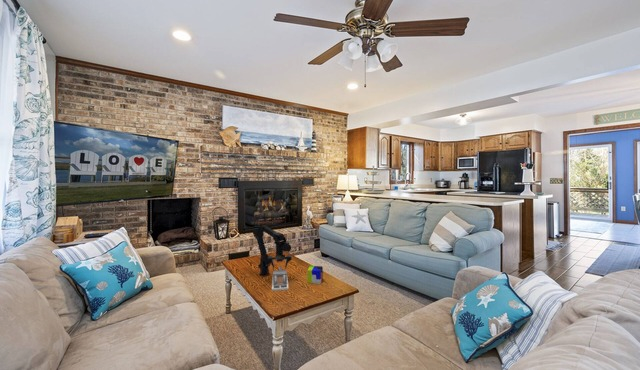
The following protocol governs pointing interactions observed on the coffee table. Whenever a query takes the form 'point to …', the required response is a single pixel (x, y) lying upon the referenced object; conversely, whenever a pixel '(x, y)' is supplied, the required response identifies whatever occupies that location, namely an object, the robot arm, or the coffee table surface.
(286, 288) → the board
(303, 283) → the coffee table surface
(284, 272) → the tunnel
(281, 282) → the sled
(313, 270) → the puzzle toy
